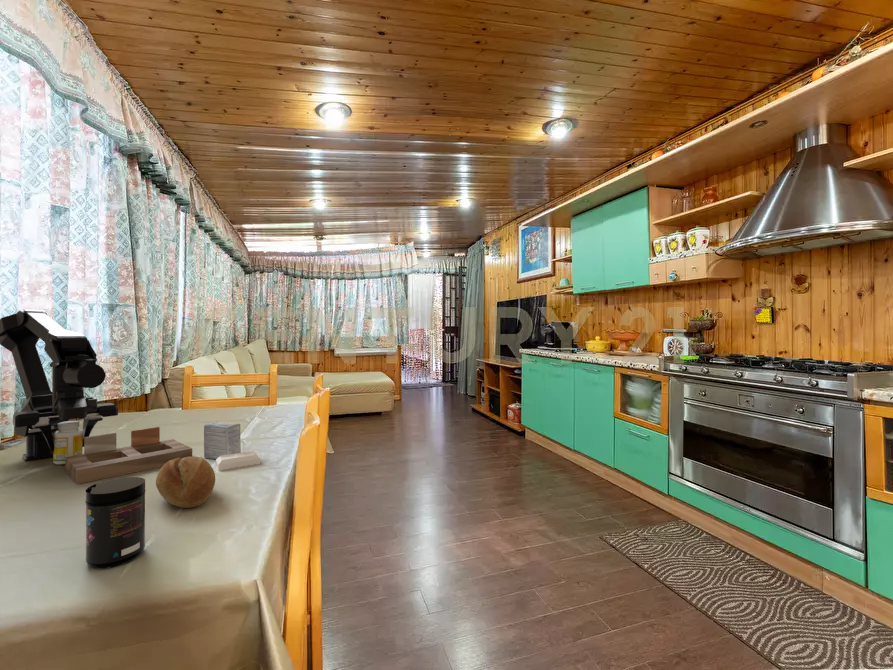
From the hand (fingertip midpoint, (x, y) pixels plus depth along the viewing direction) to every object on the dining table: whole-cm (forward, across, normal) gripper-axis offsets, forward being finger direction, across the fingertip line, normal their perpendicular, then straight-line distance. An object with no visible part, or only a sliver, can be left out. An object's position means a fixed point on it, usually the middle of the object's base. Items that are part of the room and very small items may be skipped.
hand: (68, 449), depth 103 cm
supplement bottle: (+3, 0, 0) cm, 3 cm away
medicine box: (+4, +26, -24) cm, 36 cm away
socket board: (+3, +10, -14) cm, 17 cm away
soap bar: (+4, +26, -33) cm, 43 cm away
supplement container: (+3, -4, -63) cm, 63 cm away
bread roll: (+4, +10, -47) cm, 48 cm away
